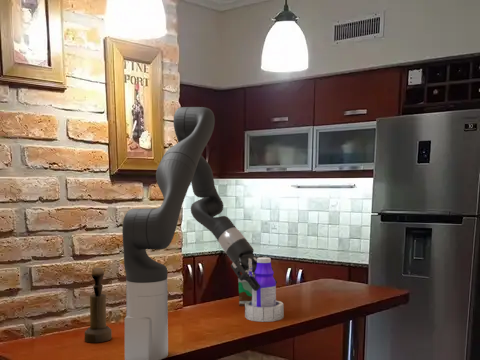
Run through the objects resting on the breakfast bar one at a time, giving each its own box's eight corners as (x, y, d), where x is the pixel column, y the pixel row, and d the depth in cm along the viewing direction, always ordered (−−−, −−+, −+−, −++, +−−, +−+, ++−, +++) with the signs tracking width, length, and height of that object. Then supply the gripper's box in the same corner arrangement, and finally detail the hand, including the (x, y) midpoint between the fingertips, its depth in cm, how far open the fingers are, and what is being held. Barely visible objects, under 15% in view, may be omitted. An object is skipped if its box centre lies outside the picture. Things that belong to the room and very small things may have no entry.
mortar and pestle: (101, 334, 134) (101, 265, 134) (116, 338, 129) (116, 267, 130) (79, 340, 128) (79, 268, 129) (94, 344, 124) (94, 270, 125)
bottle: (266, 313, 155) (265, 256, 155) (279, 316, 150) (279, 257, 151) (248, 317, 150) (247, 258, 151) (261, 320, 146) (261, 259, 146)
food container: (257, 307, 163) (256, 276, 163) (238, 307, 164) (238, 275, 165) (263, 299, 175) (262, 270, 175) (245, 299, 176) (245, 270, 177)
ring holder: (277, 322, 143) (276, 308, 143) (240, 320, 147) (240, 306, 147) (287, 314, 154) (287, 300, 154) (252, 311, 157) (252, 298, 157)
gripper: (227, 239, 150) (259, 282, 143) (256, 235, 161) (287, 275, 154) (214, 256, 153) (244, 299, 146) (243, 251, 165) (272, 291, 157)
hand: (266, 286), depth 150 cm, fingers open, 8 cm apart
